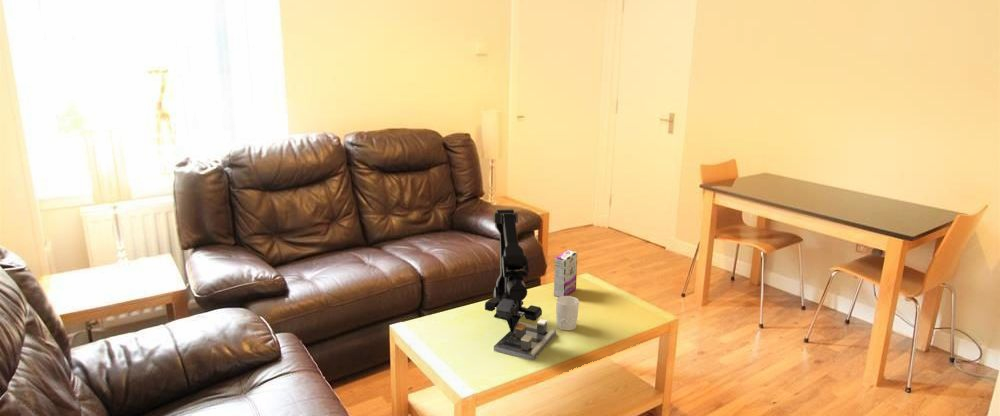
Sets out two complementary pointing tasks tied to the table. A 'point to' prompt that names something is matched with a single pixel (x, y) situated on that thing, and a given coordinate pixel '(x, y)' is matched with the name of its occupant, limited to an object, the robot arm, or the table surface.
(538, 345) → the panel
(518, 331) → the block
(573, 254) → the candy bar box
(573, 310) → the white cup
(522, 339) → the block
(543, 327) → the block
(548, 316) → the table surface
